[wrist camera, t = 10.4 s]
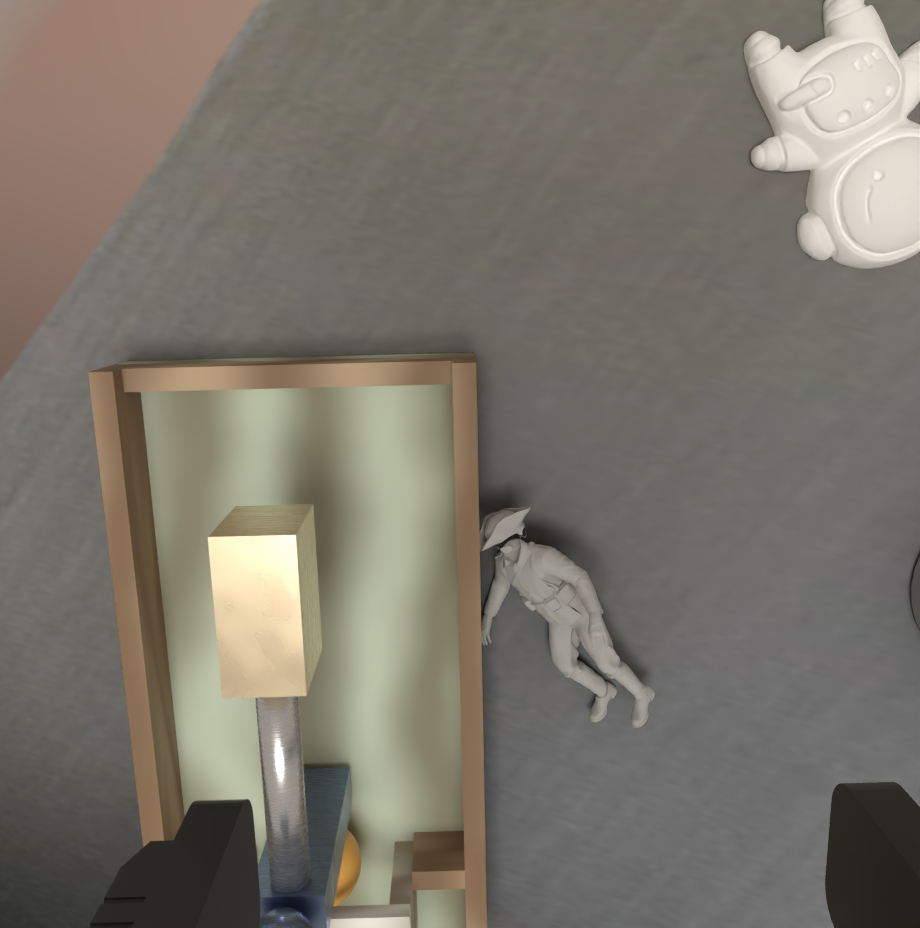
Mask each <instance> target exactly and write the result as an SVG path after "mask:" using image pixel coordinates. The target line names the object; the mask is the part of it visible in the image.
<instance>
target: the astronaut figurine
mask: <svg viewBox="0 0 920 928" xmlns="http://www.w3.org/2000/svg"><path fill="white" fill-rule="evenodd" d="M823 11H824V14H823V22H824V34H825V38H824V39H821V40H820V41H818V42H816V43H814V44H812V45H810V46H808V47H806V48H805V49H803V50H802V51H800V52H795V51H794V50H793V49H792V48H791V47H790V46H789V45H787V46H786V47H785V48H784V49H781V48H780V40H779V39H778V38H777V37H775V36H773V35H770V34H768V33H766V32H765V31H757V32H755V33H753V34H752V35H751V36H750V37H749V38H748V39H747V40H746V42H745V44H744V50H743V51H744V57H745V62H746V64H747V66H748V71H749V76H750V80H751V83H752V85H753V88H754V91H755V93H756V96H757V98H758V100H759V102H760V104H761V106H762V108H763V110H764V112H765V114H766V116H767V118H768V120H769V122H770V124H771V127H772V130H773V132H774V136H773V137H771V138H768V139H766V140H765V141H764V142H763V143H762V144H761V145H758V146H756V147H755V148H754V149H753V150H752V151H751V162H752V164H753V165H754V166H755V167H756V168H758V169H761V170H766V171H774V170H778V171H782V172H791V171H803V170H810V177H809V181H808V186H807V193H806V201H805V202H806V207H807V209H808V213H806V214H804V215H802V216H801V218H800V219H799V221H798V224H797V239H798V242H799V245H800V247H801V249H802V250H803V251H804V252H805V253H806V254H808V255H809V256H811V257H812V258H814V259H816V260H821V261H822V260H826V259H828V258H829V257H830V256H831V257H832V258H833V260H834V261H835V262H837V263H839V264H842V265H845V266H849V267H853V268H859V269H873V268H880V267H885V266H889V265H893V264H896V263H899V262H901V261H904V260H906V259H908V258H910V257H912V256H914V255H915V254H917V253H918V252H920V124H917V123H914V122H912V121H910V120H909V119H907V116H908V114H909V113H910V112H911V111H912V110H913V109H914V108H915V107H916V105H917V104H918V103H919V102H920V41H918V42H916V43H915V44H913V45H912V46H911V47H909V48H908V49H907V50H906V51H904V52H903V53H902V54H901V55H900V56H899V57H898V56H897V54H896V52H895V51H894V49H893V47H892V45H891V43H890V40H889V38H888V35H887V33H886V30H885V28H884V26H883V24H882V21H881V19H880V17H879V15H878V14H877V12H876V10H875V8H874V7H873V6H872V5H869V6H865V5H864V0H825V2H824V5H823Z"/></svg>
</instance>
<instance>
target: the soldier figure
mask: <svg viewBox="0 0 920 928" xmlns="http://www.w3.org/2000/svg"><path fill="white" fill-rule="evenodd" d="M529 510H530V507H522V508H505V509H502V510H500V511H498V512H494V513H491V514H489V515H487V516H486V517H485V518H484V519H483V524H482V527H481V530H480V533H479V535H480V551H483V550H486V549H488V548H490V547H492V546H493V545H496V544H499V543H501V542H503V541H504V540H506V539H507V538H508V537H510V536H511V535H513V534H516V533H517V534H519V535H523V534H522V531H523V529H524V527H526V526H525V524H524V522H523V519H524V517H525V515H526V514H527V513H528V511H529ZM525 533H526V531H525ZM526 534H527V533H526ZM525 537H526V536H525ZM495 547H496V546H495ZM497 548H498V547H497ZM498 549H499V548H498ZM500 550H501V551H500V552H498V553H497V555H496V556H495V559H496V564H495V572H496V573H495V577H494V579H493V581H492V585H491V588H490V592H489V595H488V599H487V602H486V605H485V608H484V615H483V617H482V622H481V640H482V644H483V645H485V644H486V645H488V643H487V640H486V635H487V639H488V641H489V642H490V643H491V639H490V629H491V626H492V617H493V616H496V614H497V613H498V611H499V608H500V607H501V605H502V602H503V600H504V599H505V597H506V595H507V593H508V591H509V588H510V585H512V586H514V587H515V588H516V589H517V590H518V591H519V594H520V595H521V597H522V598H521V600H522V601H523V603H524V604H525V605H526V606H527V607H528V608H529V609H530V610H531V611H534V610H537V612H538V613H540V614H541V615H542V616H543V617H544V618H545V619H546V621H548V622H549V645H550V650H551V656H552V661H553V663H554V664H555V665H556V666H557V667H558V668H559V671H560V672H562V673H563V675H564V676H565V677H566V678H571V679H572V680H574V681H576V682H578V683H580V684H582V685H584V686H585V687H587V688H588V689H590V690H591V691H592V692H593V693H595V694H596V695H595V702H594V704H593V706H592V708H591V711H590V720H591V721H592V722H599V721H600V720H602V719H603V718H604V716H605V715H606V713H607V704H608V702H609V700H610V699H612V698H614V697H615V695H616V693H617V688H616V687H614V686H613V684H611V683H609V682H605V681H604V679H603V678H602V677H601V676H599V675H598V674H596V673H595V672H594V671H593V670H592V669H591V668H590V667H588V666H587V665H585V664H584V663H583V662H582V661H578V660H577V657H578V654H579V653H578V651H577V647H578V646H579V642H580V641H581V643H582V645H583V647H584V648H585V649H586V651H587V652H588V653H589V655H590V657H591V658H592V659H594V661H595V662H596V664H597V666H598V667H599V669H600V670H601V671H602V672H603V673H606V675H607V676H608V677H609V678H615V679H616V680H617V681H618V682H619V683H621V684H622V685H623V686H624V687H625V688H626V689H627V690H628V691H629V692H631V693H632V694H633V695H634V706H633V710H632V715H631V722H632V725H633V727H641V726H642V725H644V723H645V722H646V721H647V719H648V716H649V714H648V704H649V702H650V701H652V700H653V698H654V696H655V691H654V690H653V689H652V688H651V687H650V686H648V685H646V684H643V683H642V682H641V681H640V680H639V679H638V678H637V676H636V675H635V674H634V673H633V672H632V670H631V669H630V668H629V667H628V665H627V664H625V663H624V662H623V661H620V658H619V656H618V655H617V654H616V651H615V650H614V648H613V643H612V640H611V638H610V635H609V633H608V631H607V628H606V626H605V623H604V621H603V619H602V613H603V609H602V607H601V604H600V602H599V600H598V597H597V594H596V591H595V589H594V586H593V584H592V582H591V580H590V577H589V575H588V573H587V572H586V571H585V570H584V569H582V568H580V567H578V566H576V564H575V563H574V562H573V561H572V560H570V559H568V558H567V556H565V555H564V554H562V553H561V552H560V551H557V550H556V548H553V547H551V546H545V545H541V544H535V543H534V542H529V543H525V542H524V541H523V540H521V538H520V539H518V538H517V539H510V540H509V541H507V543H506V544H505V546H504V547H502V548H501V549H500Z"/></svg>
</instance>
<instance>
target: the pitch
mask: <svg viewBox="0 0 920 928" xmlns="http://www.w3.org/2000/svg"><path fill="white" fill-rule="evenodd" d="M88 375H89V383H90V392H91V400H92V409H93V418H94V426H95V435H96V443H97V452H98V461H99V469H100V478H101V487H102V495H103V504H104V512H105V521H106V530H107V538H108V547H109V556H110V564H111V573H112V581H113V590H114V599H115V607H116V616H117V624H118V633H119V642H120V650H121V659H122V668H123V676H124V685H125V693H126V702H127V711H128V719H129V728H130V736H131V745H132V754H133V762H134V771H135V780H136V788H137V797H138V805H139V814H140V823H141V831H142V840H143V847H145V846H146V845H147V844H148V843H149V842H150V841H169V840H174V838H175V836H176V834H177V832H178V830H179V828H180V826H181V824H182V821H183V819H184V817H185V815H186V813H187V811H188V809H189V807H190V805H191V804H192V803H193V802H194V801H198V800H233V799H249V800H250V802H251V805H252V809H253V816H254V828H255V840H256V852H257V864H259V861H260V858H261V855H262V851H263V848H264V845H265V842H266V839H267V835H266V822H265V810H264V798H263V785H262V773H261V761H260V748H259V736H258V724H257V711H256V699H255V698H222V691H221V680H220V669H219V657H218V646H217V635H216V624H215V613H214V602H213V591H212V580H211V568H210V557H209V546H208V536H209V535H210V534H211V533H212V532H213V531H214V530H215V528H216V527H217V526H218V525H219V524H220V523H221V522H222V521H223V520H224V518H225V517H226V516H227V515H228V514H229V513H230V512H231V511H232V509H233V508H234V507H235V506H260V505H298V504H313V507H314V523H315V539H316V555H317V571H318V588H319V604H320V620H321V636H322V651H321V654H320V657H319V660H318V663H317V666H316V669H315V672H314V675H313V678H312V681H311V684H310V687H309V690H308V693H307V696H298V697H299V711H300V726H301V740H302V755H303V769H306V768H341V767H350V777H351V794H352V806H351V812H350V818H349V823H348V830H349V831H350V832H351V833H352V835H353V836H354V838H355V839H356V841H357V843H358V846H359V848H360V853H361V860H362V862H361V872H360V876H359V879H358V882H357V884H356V886H355V888H354V889H353V891H352V892H351V894H350V895H349V896H348V897H347V898H346V899H345V900H344V901H342V902H341V903H340V904H338V905H336V906H334V907H333V912H332V918H331V924H330V928H487V902H486V849H485V797H484V745H483V692H482V640H481V588H480V535H479V483H478V431H477V378H476V360H475V357H474V354H473V353H434V354H393V355H352V356H312V357H271V358H230V359H189V360H149V361H126V362H122V363H119V364H115V365H112V366H108V367H105V368H101V369H98V370H94V371H91V372H88Z"/></svg>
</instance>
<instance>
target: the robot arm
mask: <svg viewBox="0 0 920 928" xmlns="http://www.w3.org/2000/svg"><path fill="white" fill-rule="evenodd" d="M911 604H912V608H913V612H914V616H915V620H916V623H917V625H918V627H919V629H920V557H919V559H918V562H917V564H916V566H915V570H914V575H913V580H912V585H911ZM825 889H826V899H827V905H828V909H829V913H830V917H831V920H832V923H833V925H834V928H920V807H919V806H918V805H917V804H916V802H915V801H914V800H913V799H912V798H911V797H910V796H909V794H908V793H907V792H906V791H905V790H904V789H903V788H902V787H901V786H900V785H899V784H897V783H895V782H879V783H845V784H838V785H837V786H836V787H835V789H834V791H833V795H832V802H831V814H830V827H829V840H828V853H827V866H826V879H825ZM259 925H260V888H259V876H258V864H257V852H256V840H255V828H254V816H253V809H252V805H251V802H250V800H249V799H233V800H198V801H194V802H193V803H192V804H191V805H190V807H189V809H188V811H187V813H186V815H185V817H184V819H183V821H182V824H181V826H180V828H179V830H178V832H177V834H176V836H175V838H174V840H169V841H150V842H149V843H148V844H147V845H146V846H145V847H143V848H142V849H141V850H140V851H139V852H138V853H137V854H136V855H134V856H133V857H132V858H131V859H130V860H129V861H128V862H127V863H125V864H124V865H123V866H122V867H121V868H120V870H119V872H118V874H117V876H116V877H115V879H114V881H113V883H112V885H111V887H110V888H109V890H108V892H107V894H106V896H105V898H104V904H101V905H100V907H99V909H98V910H97V912H96V914H95V916H94V918H93V920H92V921H91V923H90V928H259Z"/></svg>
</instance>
